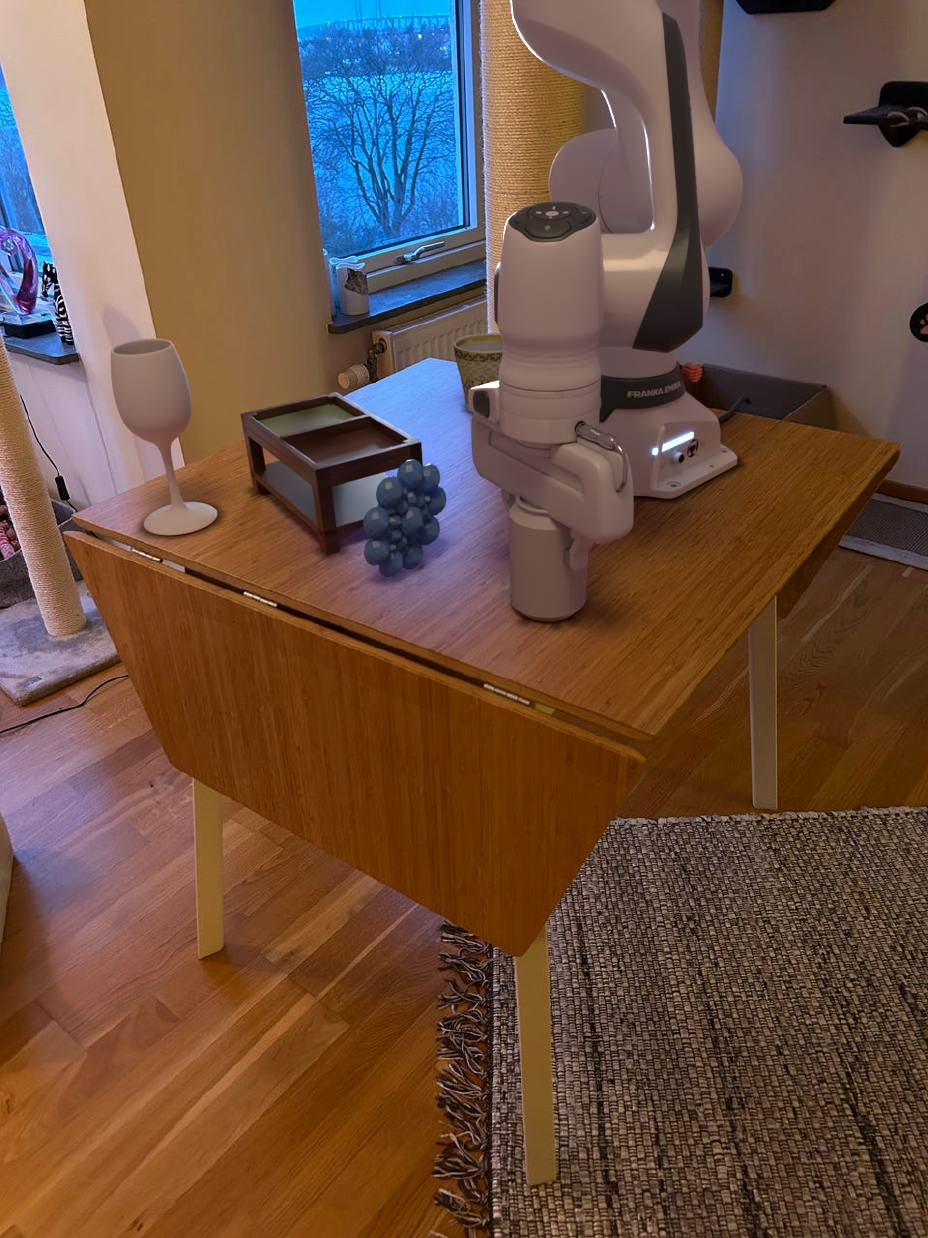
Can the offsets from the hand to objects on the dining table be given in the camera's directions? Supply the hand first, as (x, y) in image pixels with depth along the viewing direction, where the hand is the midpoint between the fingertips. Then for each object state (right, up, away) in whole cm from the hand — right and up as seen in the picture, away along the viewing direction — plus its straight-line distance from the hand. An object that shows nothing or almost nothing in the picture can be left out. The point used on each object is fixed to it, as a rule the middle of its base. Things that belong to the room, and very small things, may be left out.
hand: (546, 548), depth 88 cm
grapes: (-15, -1, +12) cm, 19 cm away
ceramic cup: (-3, +26, +54) cm, 60 cm away
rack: (-24, +7, +25) cm, 35 cm away
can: (0, -6, +4) cm, 7 cm away
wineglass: (-42, +5, +24) cm, 49 cm away
